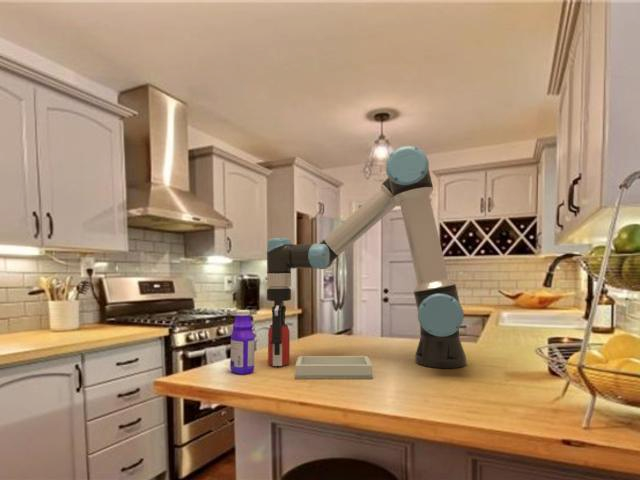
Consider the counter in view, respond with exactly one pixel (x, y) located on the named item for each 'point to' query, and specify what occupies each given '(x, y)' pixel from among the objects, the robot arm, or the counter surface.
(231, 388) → the counter surface
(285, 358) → the beer can
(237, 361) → the bottle
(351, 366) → the tray
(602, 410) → the counter surface
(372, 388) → the counter surface
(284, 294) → the robot arm
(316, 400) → the counter surface
